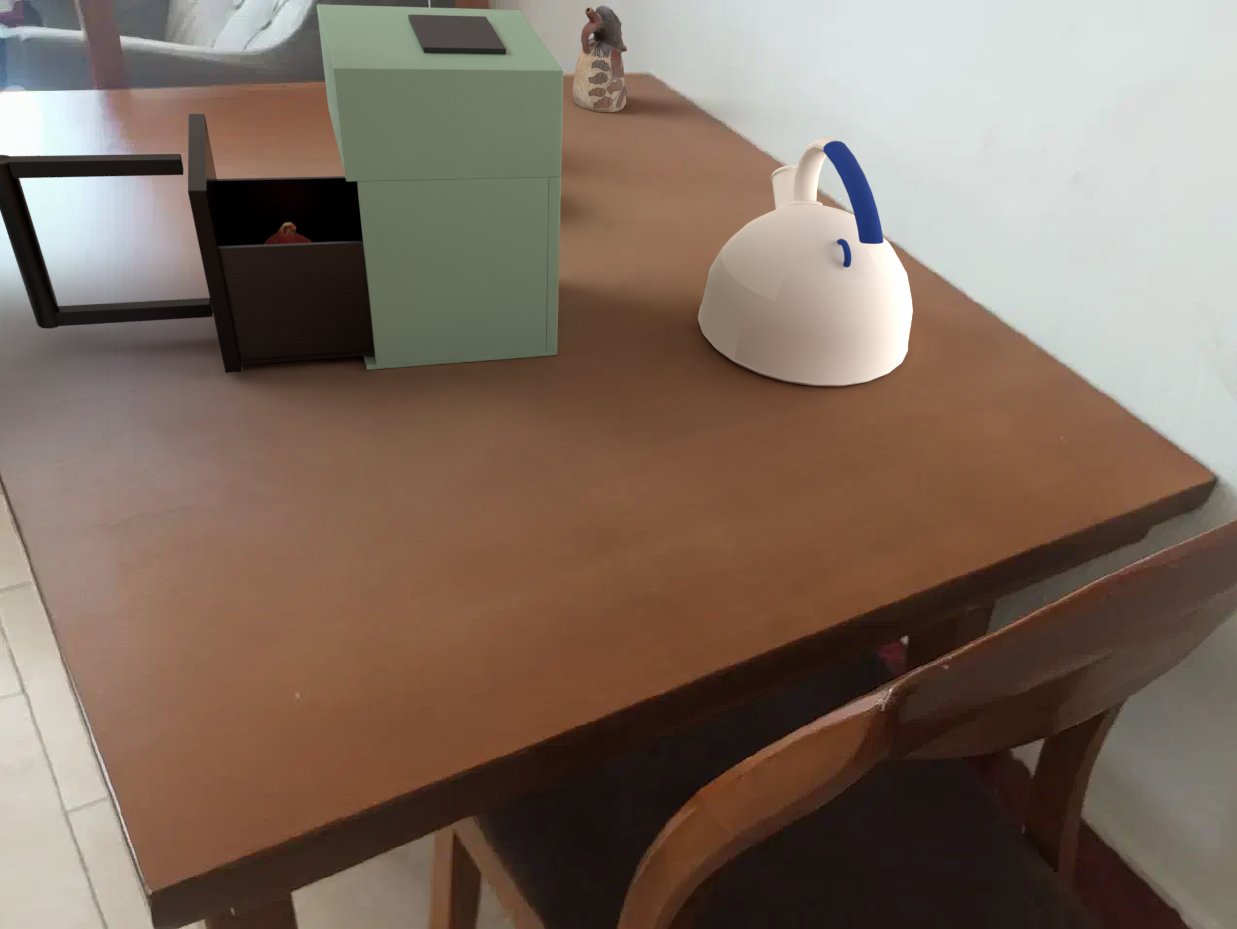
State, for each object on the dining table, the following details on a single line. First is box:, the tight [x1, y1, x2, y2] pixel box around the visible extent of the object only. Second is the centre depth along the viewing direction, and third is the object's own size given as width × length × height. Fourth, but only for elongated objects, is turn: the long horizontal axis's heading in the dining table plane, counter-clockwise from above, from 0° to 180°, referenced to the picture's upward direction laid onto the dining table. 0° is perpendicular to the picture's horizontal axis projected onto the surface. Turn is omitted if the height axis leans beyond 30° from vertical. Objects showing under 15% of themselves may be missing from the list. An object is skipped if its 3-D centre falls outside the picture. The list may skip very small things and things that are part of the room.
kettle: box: [697, 136, 914, 387], centre depth 98 cm, size 20×21×18 cm
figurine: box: [572, 5, 628, 113], centre depth 141 cm, size 7×7×12 cm
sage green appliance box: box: [316, 3, 564, 371], centre depth 89 cm, size 16×15×24 cm
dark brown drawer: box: [0, 113, 375, 374], centre depth 86 cm, size 28×15×15 cm, turn 110°
